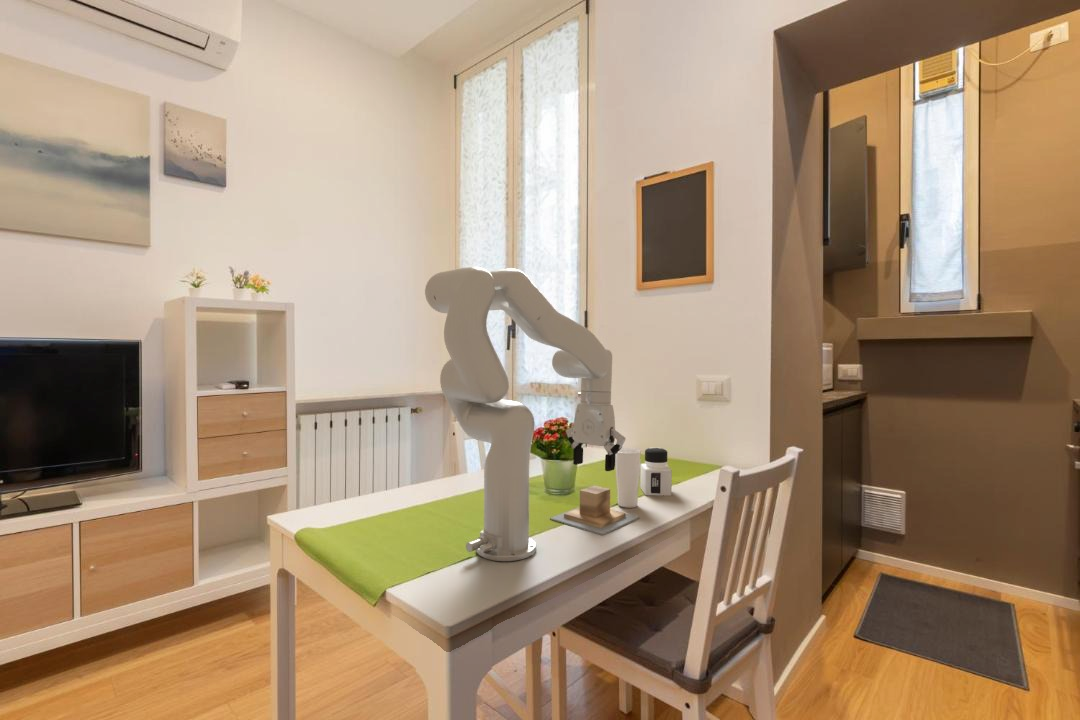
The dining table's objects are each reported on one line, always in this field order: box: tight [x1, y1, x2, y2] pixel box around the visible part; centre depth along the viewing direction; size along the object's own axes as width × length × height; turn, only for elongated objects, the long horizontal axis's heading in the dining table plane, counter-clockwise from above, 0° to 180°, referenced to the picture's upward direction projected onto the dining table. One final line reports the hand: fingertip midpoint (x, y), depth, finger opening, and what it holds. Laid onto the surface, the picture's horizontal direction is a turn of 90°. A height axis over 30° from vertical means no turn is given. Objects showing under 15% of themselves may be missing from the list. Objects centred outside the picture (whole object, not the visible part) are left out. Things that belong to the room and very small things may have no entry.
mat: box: [549, 506, 641, 536], centre depth 130 cm, size 16×16×1 cm
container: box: [639, 447, 673, 497], centre depth 154 cm, size 8×8×13 cm
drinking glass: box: [615, 447, 642, 509], centre depth 140 cm, size 7×7×15 cm
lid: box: [564, 485, 626, 528], centre depth 129 cm, size 11×11×7 cm
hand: (593, 467), depth 129 cm, fingers open, 9 cm apart
